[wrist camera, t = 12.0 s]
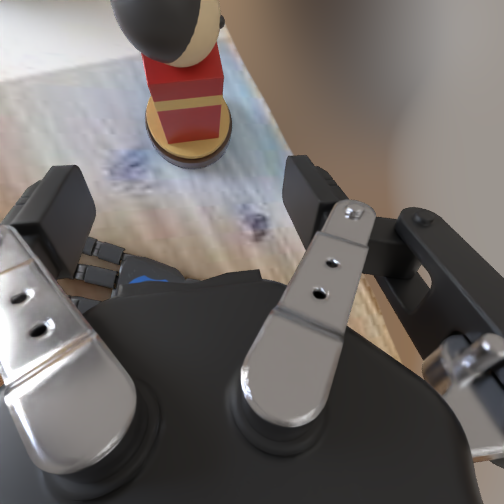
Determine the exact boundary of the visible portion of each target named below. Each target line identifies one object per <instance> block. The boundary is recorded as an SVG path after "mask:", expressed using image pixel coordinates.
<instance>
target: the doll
mask: <svg viewBox="0 0 504 504" xmlns="http://www.w3.org/2000/svg"><path fill="white" fill-rule="evenodd" d="M110 1H111V5H112V9H113V12H114V15H115V17H116V20H117V22H118V24H119V26H120V28H121V30H122V32H123V33H124V35H125V36H126V37H127V39H128V40H129V41H130V42H131V43H132V45H133V46H134V47H135V48H136V49H137V50H139V51H140V52H141V55H142V60H143V65H144V70H145V75H146V80H147V85H148V87H149V90H150V93H151V97H150V99H149V101H148V105H147V111H146V117H147V123H148V127H149V129H150V131H151V134H152V136H153V137H154V139H155V140H156V142H157V143H158V144H159V145H160V146H161V147H162V148H163V149H165V150H166V151H167V152H169V153H171V154H173V155H175V156H178V157H181V158H186V159H196V158H202V157H205V156H207V155H209V154H211V153H213V152H214V151H216V150H217V149H218V148H219V147H220V146H221V145H222V143H223V142H224V140H225V138H226V136H227V133H228V130H229V123H230V117H229V111H228V107H227V104H226V102H225V100H224V99H223V82H224V75H223V70H222V65H221V60H220V55H219V50H218V45H217V38H218V35H219V30H220V29H221V28H223V27H224V24H225V20H224V17H223V16H222V15H221V12H220V4H219V0H110Z"/></svg>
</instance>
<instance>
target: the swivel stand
mask: <svg viewBox="0 0 504 504" xmlns="http://www.w3.org/2000/svg"><path fill="white" fill-rule="evenodd" d="M227 107H228V106H227ZM146 111H147V108H146ZM228 111H229V117H230V123H229V130H228V133H227V136H226V138H225V140H224V142H223V143H222V145H221V146H220V147H219V148H218V149H217V150H216V151H214V152H213V153H211V154H209V155H207V156H205V157H202V158H196V159H186V158H181V157H178V156H175V155H173V154H171V153H169V152H167V151H166V150H165V149H163V148H162V147H161V146H160V145H159V144H158V143H157V142H156V140H155V139H154V137H153V136H152V134H151V131H150V129H149V127H148V123H147V117H146V113H145V124H146V129H147V132H148V135H149V137H150V139H151V141H152V143H153V146H154V147H155V149H156V150H157V152H158V153H159V154H160V155H161V156H162V157H163V158H164V159H166V160H167V161H168V162H170V163H172V164H174V165H176V166H179V167H182V168H188V169H197V168H202V167H206V166H208V165H211V164H212V163H214V162H216V161H217V160H218V159H219V158H220V157H221V156H222V155H223V154H224V152H225V151H226V149H227V147H228V145H229V141H230V137H231V131H232V118H231V114H230V110H229V108H228Z"/></svg>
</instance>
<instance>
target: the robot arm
mask: <svg viewBox="0 0 504 504" xmlns="http://www.w3.org/2000/svg"><path fill="white" fill-rule="evenodd" d="M282 198H283V203H284V205H285V207H286V210H287V212H288V214H289V216H290V218H291V220H292V222H293V224H294V226H295V229H296V231H297V233H298V235H299V237H300V239H301V241H302V243H303V245H304V248H305V250H306V252H305V254H304V256H303V258H302V260H301V261H300V263H299V265H298V267H297V269H296V271H295V273H294V275H293V276H292V278H291V280H290V282H289V284H288V286H287V285H284V284H282V283H279V282H276V281H272V280H267V279H262V278H261V274H260V270H259V269H257V270H248V271H239V272H230V273H225V274H222V275H219V276H215V277H212V278H209V279H206V280H203V281H200V282H197V283H191V284H189V283H177V282H165V281H149V282H139V283H130V284H121V285H119V290H118V295H117V296H115V297H112V298H110V299H108V300H105V301H103V302H101V303H99V304H97V305H95V306H94V307H92V308H90V309H89V310H87V311H86V312H84V313H83V314H81V312H80V311H79V310H78V309H77V307H76V306H75V305H74V303H73V302H72V301H71V299H70V298H69V297H68V295H67V294H66V293H65V292H64V290H63V289H62V288H61V286H60V285H59V284H58V282H57V281H56V280H57V279H64V278H73V276H74V273H75V270H76V268H77V265H78V262H79V260H80V257H81V254H82V252H83V249H84V246H85V243H86V241H87V238H88V235H89V233H90V230H91V227H92V225H93V222H94V219H95V216H96V208H95V204H94V201H93V198H92V196H91V194H90V191H89V189H88V186H87V184H86V182H85V179H84V177H83V174H82V172H81V170H80V168H79V167H78V166H77V165H63V166H52V167H51V168H50V170H49V171H48V172H47V174H46V175H45V177H44V178H43V179H42V180H39V181H38V182H36V183H35V184H33V185H31V186H30V187H28V188H27V189H26V191H25V192H24V193H23V195H22V196H21V198H19V200H18V201H17V202H16V205H15V206H13V208H12V209H11V210H10V212H9V213H8V214H7V215H6V217H5V218H4V219H3V221H2V222H1V223H0V373H1V376H2V378H3V380H4V382H5V383H4V384H3V385H2V386H1V387H0V504H483V501H482V499H481V495H480V491H479V487H478V483H477V479H476V475H475V469H474V464H473V463H476V462H482V461H488V460H489V461H491V462H492V463H493V464H495V465H497V466H499V467H501V468H504V278H503V277H502V276H501V275H500V274H499V273H498V272H497V271H496V270H495V269H494V268H493V267H492V266H491V265H489V263H488V262H486V261H485V260H484V259H483V258H482V257H481V256H480V255H479V254H478V253H477V252H476V251H475V250H474V249H473V248H472V247H471V246H470V245H469V244H468V243H467V242H466V241H465V240H464V239H463V238H462V237H461V236H460V235H459V234H457V232H455V231H454V230H453V229H452V228H451V227H450V226H449V225H448V224H447V223H446V222H445V221H444V220H443V219H442V218H441V217H440V216H438V215H437V214H435V213H433V212H431V211H429V210H426V209H422V208H416V207H410V208H405V209H403V210H402V211H401V213H400V215H399V217H398V219H390V218H382V217H376V213H375V211H374V210H373V208H372V207H370V206H369V205H367V204H365V203H363V202H360V201H357V200H349V198H348V197H347V196H346V195H345V193H344V192H343V191H342V190H341V188H340V187H339V186H338V185H337V184H336V182H335V181H334V180H333V178H332V177H331V176H330V175H329V173H328V172H327V171H325V170H323V169H322V168H320V167H318V166H314V164H313V163H312V162H311V160H310V159H309V158H308V157H307V155H297V156H288V157H287V160H286V166H285V173H284V181H283V189H282ZM421 265H423V266H424V268H425V269H426V270H427V271H428V273H429V274H430V277H431V280H432V285H431V288H429V287H428V286H427V284H426V283H425V282H424V280H423V279H422V277H420V275H419V273H418V272H417V271H418V269H419V267H420V266H421ZM362 273H363V274H370V275H374V277H375V279H376V280H377V282H378V284H379V286H380V287H381V289H382V291H383V292H384V294H385V295H386V298H387V299H388V301H389V302H390V304H391V306H392V308H393V309H394V311H395V313H396V314H397V316H398V318H399V319H400V321H401V323H402V325H403V327H404V328H405V330H406V332H407V333H408V335H409V337H410V338H411V340H412V342H413V344H414V345H415V347H416V349H417V350H418V352H419V354H420V355H421V357H422V359H423V364H422V374H423V377H424V380H423V379H422V378H421V377H420V376H418V375H417V374H415V373H414V372H412V371H411V370H409V369H408V368H407V367H405V366H404V365H402V364H401V363H400V362H398V361H397V360H395V359H394V358H392V357H391V356H390V355H388V354H387V353H385V352H384V351H382V350H381V349H380V348H378V347H377V346H375V345H374V344H372V343H371V342H370V341H368V340H367V339H365V338H364V337H362V336H361V335H360V334H358V333H357V332H355V331H354V330H352V329H351V328H350V327H348V326H347V322H348V319H349V315H350V312H351V308H352V305H353V301H354V298H355V294H356V291H357V287H358V284H359V281H360V277H361V274H362Z"/></svg>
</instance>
